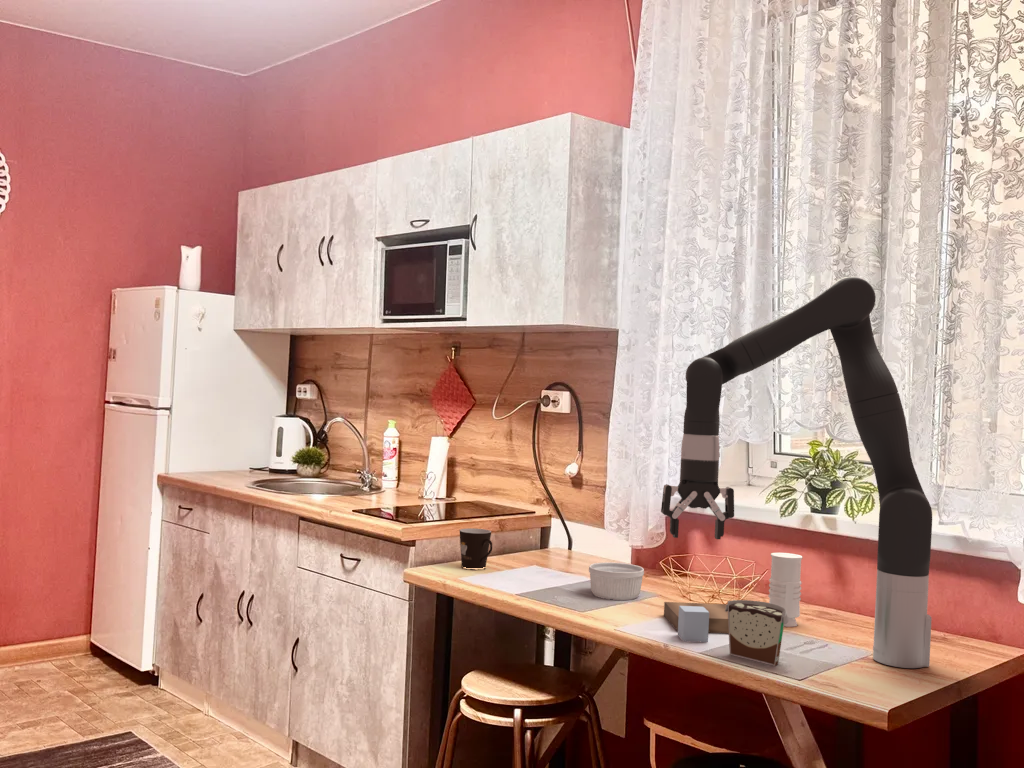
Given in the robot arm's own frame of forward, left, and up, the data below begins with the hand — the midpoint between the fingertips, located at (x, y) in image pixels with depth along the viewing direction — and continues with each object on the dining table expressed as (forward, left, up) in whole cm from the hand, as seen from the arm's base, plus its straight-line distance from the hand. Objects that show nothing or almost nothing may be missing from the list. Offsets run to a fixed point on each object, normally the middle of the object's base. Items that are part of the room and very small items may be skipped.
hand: (696, 538), depth 190 cm
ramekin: (+9, -40, -21) cm, 46 cm away
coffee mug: (+43, -66, -21) cm, 82 cm away
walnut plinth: (-6, -14, -20) cm, 25 cm away
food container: (-11, +10, -21) cm, 26 cm away
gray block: (-1, -2, -21) cm, 21 cm away
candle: (-25, -18, -21) cm, 37 cm away
